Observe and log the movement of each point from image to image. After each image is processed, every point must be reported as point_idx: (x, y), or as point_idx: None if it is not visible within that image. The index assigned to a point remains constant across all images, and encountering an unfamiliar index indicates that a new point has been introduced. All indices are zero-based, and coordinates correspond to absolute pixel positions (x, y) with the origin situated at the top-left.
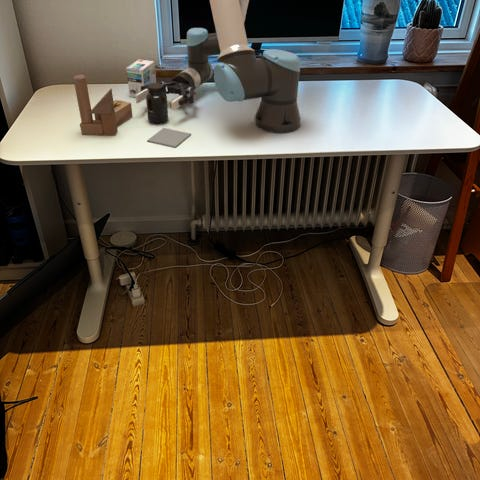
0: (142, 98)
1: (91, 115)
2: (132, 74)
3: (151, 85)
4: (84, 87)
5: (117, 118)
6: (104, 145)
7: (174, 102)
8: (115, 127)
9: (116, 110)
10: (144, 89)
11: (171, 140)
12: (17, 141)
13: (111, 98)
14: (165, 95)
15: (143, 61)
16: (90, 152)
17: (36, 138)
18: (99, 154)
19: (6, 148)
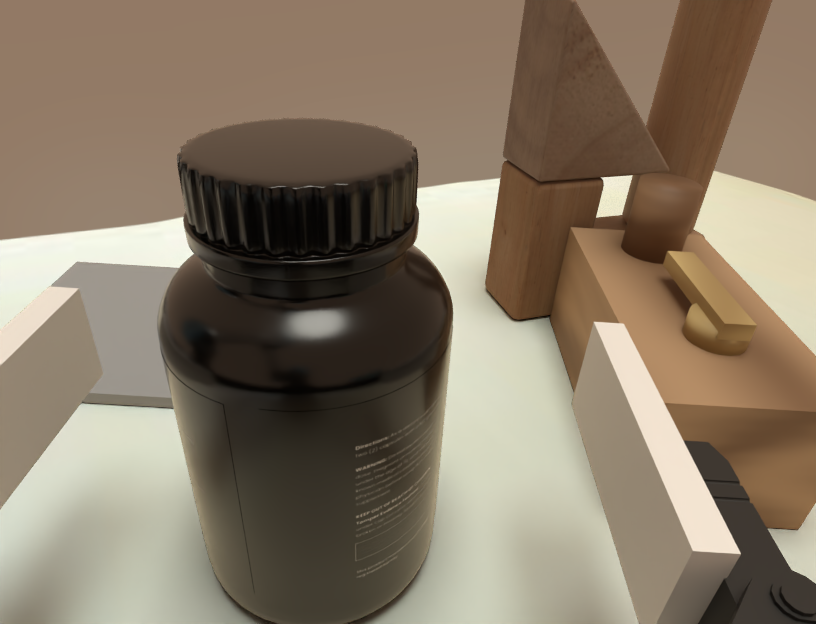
0: (603, 462)
1: (636, 184)
2: None
3: (368, 144)
4: None
5: (578, 314)
6: (459, 233)
7: (35, 312)
8: (501, 265)
9: (608, 275)
10: (780, 579)
11: (110, 294)
12: (783, 205)
13: (537, 67)
14: (167, 291)
15: None
16: (470, 202)
17: (761, 223)
18: (426, 199)
19: (748, 182)
